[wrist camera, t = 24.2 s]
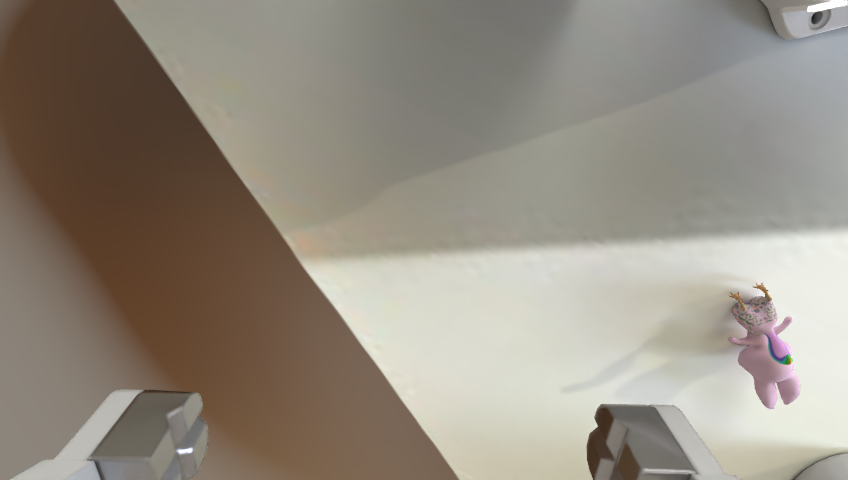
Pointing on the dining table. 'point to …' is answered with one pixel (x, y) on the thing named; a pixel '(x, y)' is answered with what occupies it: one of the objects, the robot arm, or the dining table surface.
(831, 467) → the cylinder vase
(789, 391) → the pink antlered figurine
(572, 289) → the dining table surface
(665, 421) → the robot arm
